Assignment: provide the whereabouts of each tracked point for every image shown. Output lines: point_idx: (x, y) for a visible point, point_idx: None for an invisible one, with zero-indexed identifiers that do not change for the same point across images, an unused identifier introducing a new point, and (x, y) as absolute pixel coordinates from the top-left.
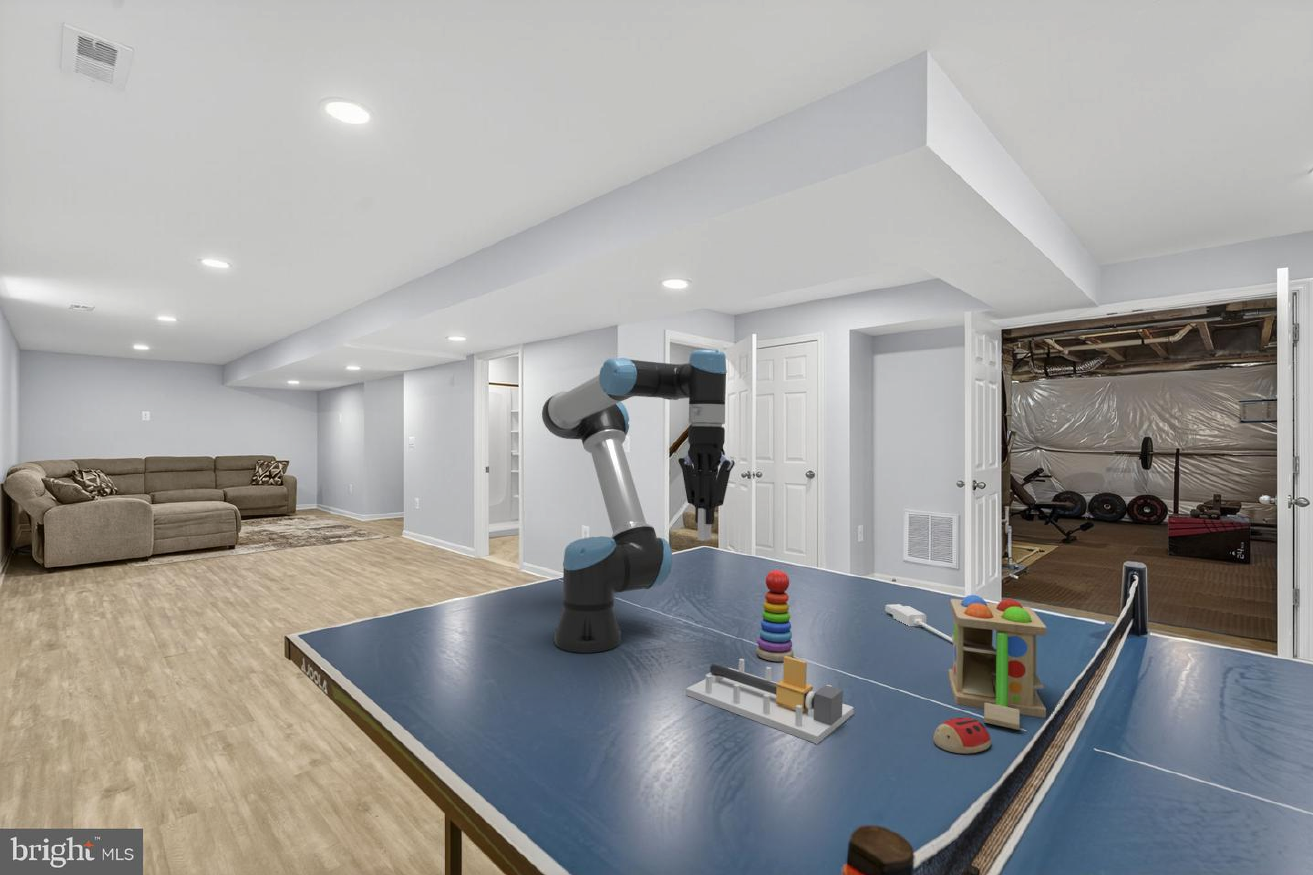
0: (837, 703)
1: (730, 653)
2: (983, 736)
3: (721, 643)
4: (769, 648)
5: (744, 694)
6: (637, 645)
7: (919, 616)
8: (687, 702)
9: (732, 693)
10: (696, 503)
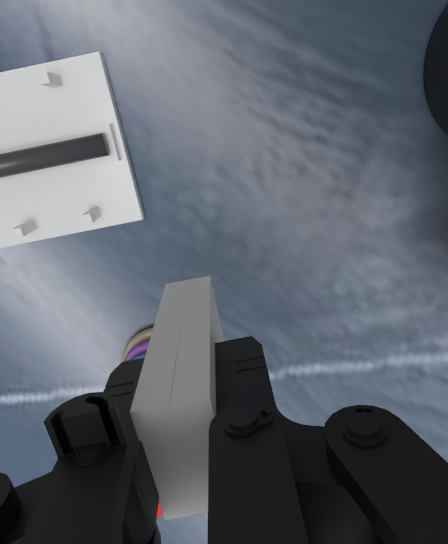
0: None
1: (227, 297)
2: None
3: (282, 323)
4: (143, 341)
5: (10, 141)
6: (400, 156)
7: None
8: (69, 29)
9: (27, 123)
10: (240, 431)
